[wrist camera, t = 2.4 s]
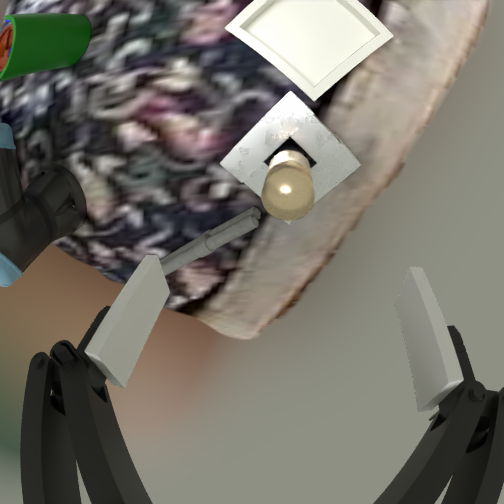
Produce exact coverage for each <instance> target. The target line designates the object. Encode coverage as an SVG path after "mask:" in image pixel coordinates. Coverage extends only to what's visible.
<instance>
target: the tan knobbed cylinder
mask: <svg viewBox="0 0 504 504" xmlns="http://www.w3.org/2000/svg"><path fill="white" fill-rule="evenodd" d="M261 199H262V203H263V206H264V207H265V209H266V210H267V212H268V213H269V214H271V215H272V216H274V217H275V218H277V219H280V220H285V221H292V220H297V219H300V218H302V217H304V216H305V215H306V214H308V213H309V211H310V210H311V209H312V207H313V204H314V200H315V194H314V187H313V180H312V174H311V168H310V164H309V162H308V160H307V159H306V157H305V156H304V155H303V148H302V147H301V146H300V145H299V144H298V143H297V142H296V141H295V140H294V139H292V138H289V139H287V140H286V141H284V142H283V143H282V144H281V145H280V147H279V151H278V154H276V155H275V156H274V157H273V158H272V160H271V162H270V165H269V168H268V171H267V175H266V178H265V181H264V185H263V188H262V192H261Z"/></svg>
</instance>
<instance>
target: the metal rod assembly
mask: <svg viewBox="0 0 504 504" xmlns="http://www.w3.org/2000/svg"><path fill="white" fill-rule="evenodd" d="M260 214H261V212H260V210H259V209H258V208H256V207H252V208H250V209H248V210H246V211H245V212H243V213H241V214H239V215H237V216H236V217H234V218H232V219H230V220H228V221H227V222H225V223H223V224H221V225H220V226H218V227H216V228H214V229H209V230H208V231H206V232H204V233H202V234H201V235H200V236H199V237H198V238H196V239H194V240H193V241H191V242H189V243H188V244H186V245H184V246H182V247H181V248H179V249H177V250H176V251H174V252H172V253H171V254H169V255H167V256H166V257H164V258H162V259H161V260H160V263H161V267H162V270H163V273H164V276H165V275H167V274H169V273H171V272H173V271H175V270H177V269H179V268H181V267H182V266H184V265H186V264H188V263H190V262H192V261H194V260H196V259H198V258H199V257H204V256H206V255H208V254H210V253H212V252H214V250H215V249H216V248H218V247H220V246H222V245H224V244H226V243H227V242H229V241H231V240H233V239H235V238H237V237H239V236H241V235H243V234H245V233H247V232H249V231H251V230H253V229H255V228H257V227H258V225H259V224H258V219H260Z"/></svg>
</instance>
